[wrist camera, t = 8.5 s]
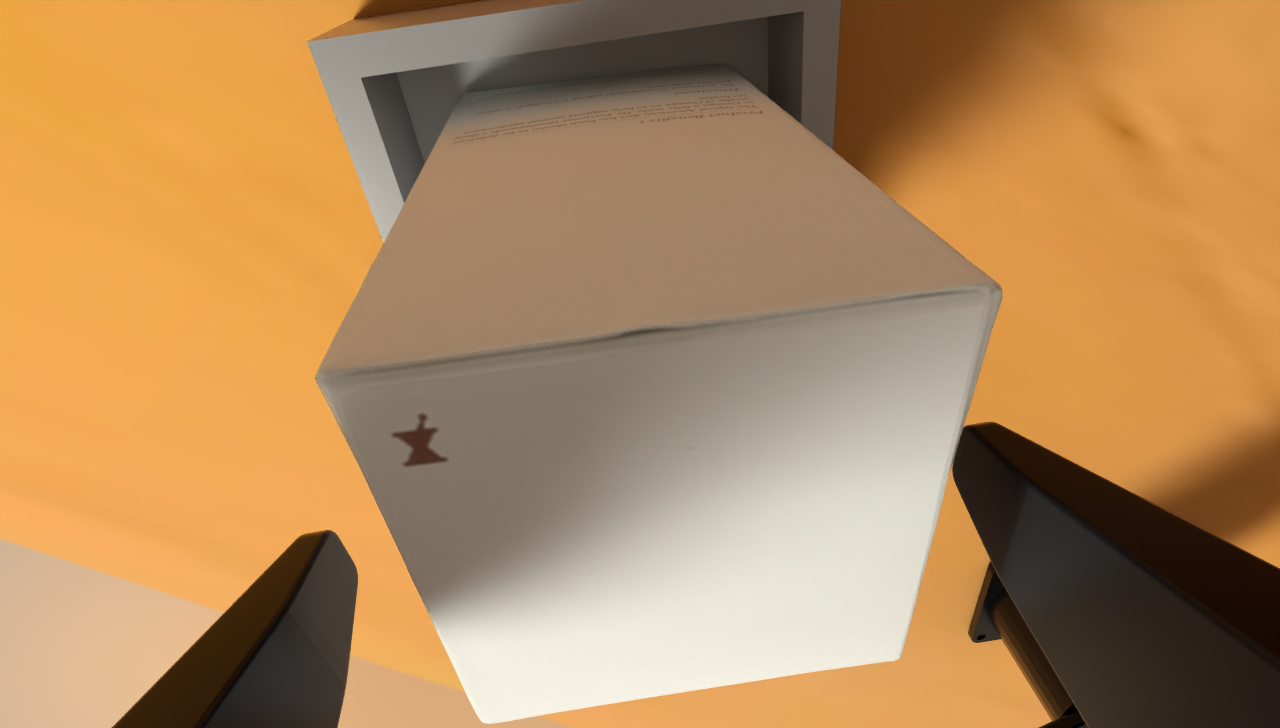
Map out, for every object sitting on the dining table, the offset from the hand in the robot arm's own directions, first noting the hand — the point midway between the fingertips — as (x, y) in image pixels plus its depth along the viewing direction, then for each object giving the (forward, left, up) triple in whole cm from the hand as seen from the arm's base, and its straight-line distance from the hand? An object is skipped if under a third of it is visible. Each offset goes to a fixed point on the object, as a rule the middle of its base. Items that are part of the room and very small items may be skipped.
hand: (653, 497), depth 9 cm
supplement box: (0, 0, -12) cm, 12 cm away
